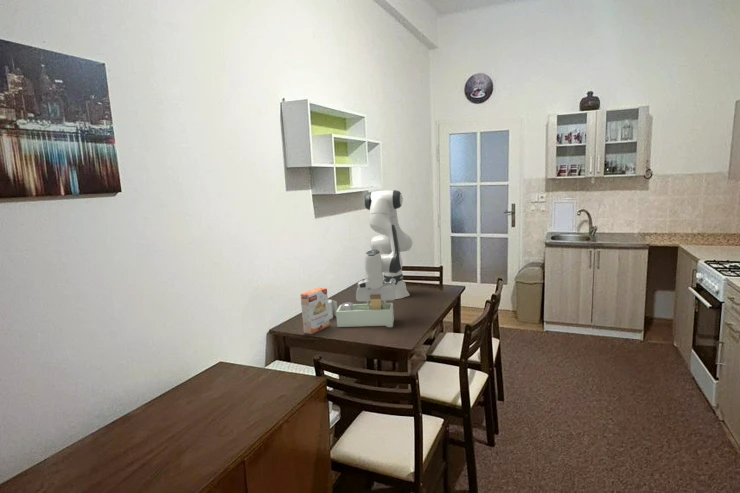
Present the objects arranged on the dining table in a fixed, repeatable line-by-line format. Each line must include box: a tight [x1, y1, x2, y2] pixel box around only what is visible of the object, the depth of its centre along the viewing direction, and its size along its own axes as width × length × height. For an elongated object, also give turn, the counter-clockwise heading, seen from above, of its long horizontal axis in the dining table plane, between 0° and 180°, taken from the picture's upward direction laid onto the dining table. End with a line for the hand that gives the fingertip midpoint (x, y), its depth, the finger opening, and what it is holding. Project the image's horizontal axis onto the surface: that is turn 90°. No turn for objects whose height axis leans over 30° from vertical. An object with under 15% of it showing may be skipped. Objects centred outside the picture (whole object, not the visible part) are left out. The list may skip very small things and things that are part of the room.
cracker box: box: [300, 287, 330, 335], centre depth 221 cm, size 14×6×21 cm, turn 145°
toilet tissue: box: [328, 299, 338, 321], centre depth 240 cm, size 11×12×10 cm
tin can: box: [341, 302, 354, 311], centre depth 228 cm, size 6×6×10 cm
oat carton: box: [370, 295, 383, 310], centre depth 226 cm, size 5×5×13 cm
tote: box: [335, 302, 395, 328], centre depth 227 cm, size 12×28×9 cm, turn 84°
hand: (376, 308), depth 226 cm, fingers closed on oat carton, 5 cm apart
